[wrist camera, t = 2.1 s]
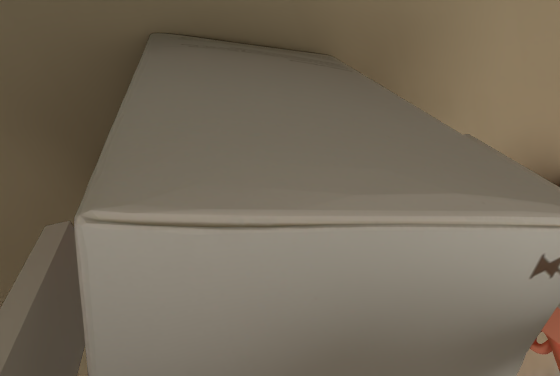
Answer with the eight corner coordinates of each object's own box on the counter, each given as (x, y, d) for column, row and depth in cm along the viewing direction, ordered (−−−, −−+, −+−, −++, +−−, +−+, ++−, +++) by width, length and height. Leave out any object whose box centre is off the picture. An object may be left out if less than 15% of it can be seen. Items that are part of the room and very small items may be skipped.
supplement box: (144, 25, 17) (47, 199, 4) (335, 53, 19) (641, 215, 7) (143, 205, 21) (92, 571, 8) (301, 209, 23) (448, 495, 11)
